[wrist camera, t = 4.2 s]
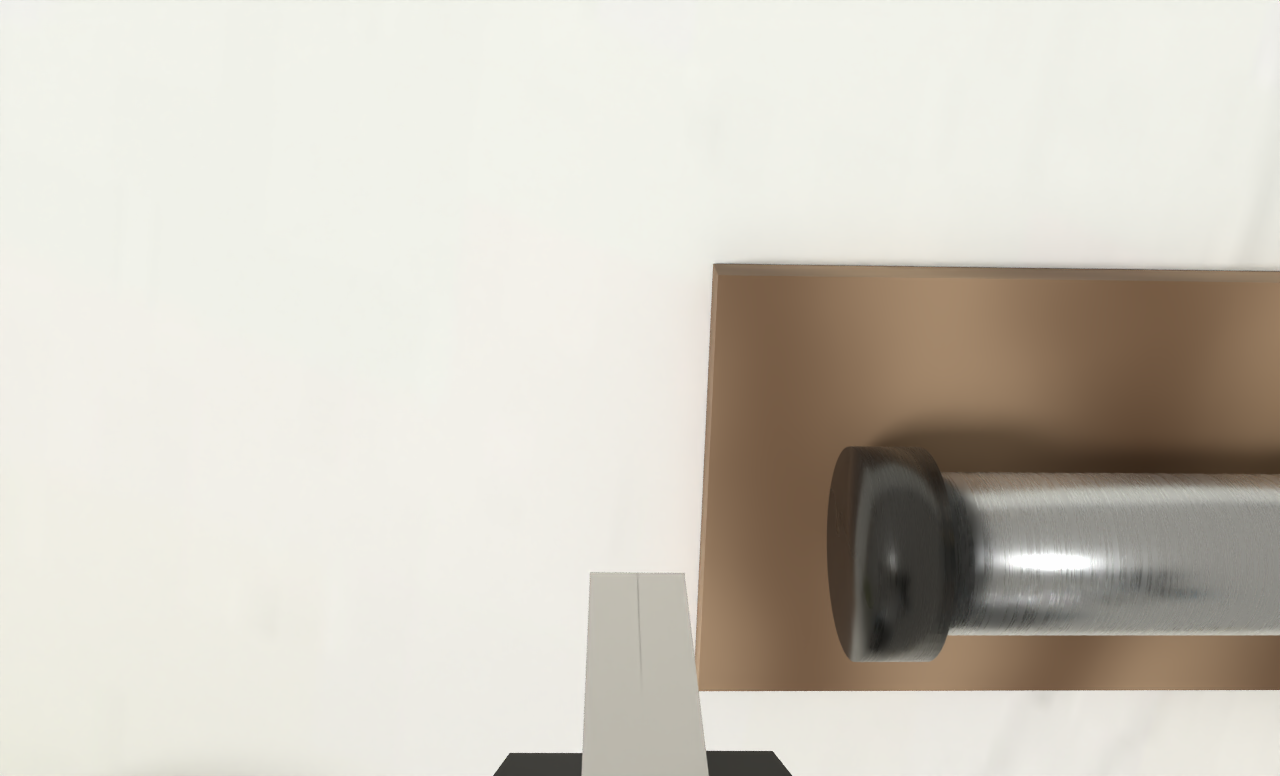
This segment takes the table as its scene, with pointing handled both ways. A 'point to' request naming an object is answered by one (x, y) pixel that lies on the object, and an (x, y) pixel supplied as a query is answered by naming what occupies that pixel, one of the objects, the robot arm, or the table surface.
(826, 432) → the base
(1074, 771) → the table surface
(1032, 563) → the tube
